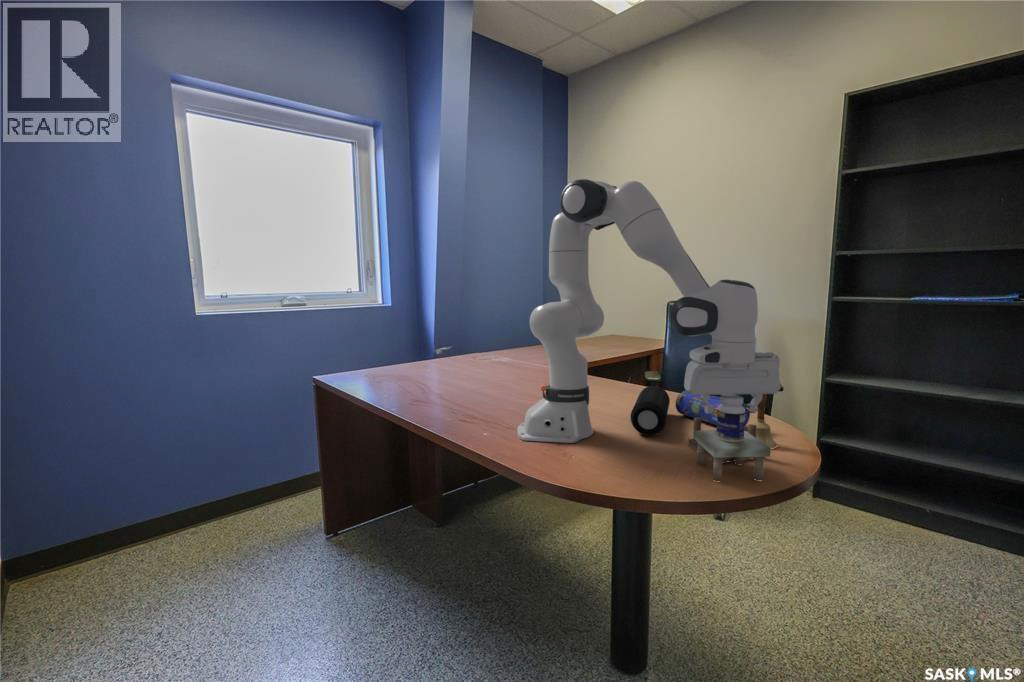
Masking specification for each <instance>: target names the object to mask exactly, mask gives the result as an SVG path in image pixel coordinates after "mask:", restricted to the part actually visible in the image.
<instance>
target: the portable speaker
mask: <svg viewBox="0 0 1024 682" xmlns="http://www.w3.org/2000/svg"><path fill="white" fill-rule="evenodd" d="M638 394H639V395H638V396H637V398H636V401H635V404H634V405H633V407H632V410H631V411H630V422H631V423H630V424H632V427H633V428H634V430H635V431H637V432H638V433H639V434H642V435H644V436H656V435H658V434H659V433H661V432H662V431H663V430H664V428H665V427H666V423H667V418H668V411H669V407H670V403H671V400H670V396H669V394H668V392H667V391H666V390H665V389H663V388H662V387H661V386H657V385H650V386H646V387H644V388H643V389H642V390H640V393H638Z"/></svg>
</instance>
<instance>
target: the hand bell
mask: <svg viewBox="0 0 1024 682" xmlns="http://www.w3.org/2000/svg"><path fill="white" fill-rule="evenodd" d="M767 400H768V394H763V396H762V400H761V401H760V403H759V404H758V405H757V408H756V409H757V417H756V418H757V420H756V421H755V422H752V423H751V424H752V425H756V438H757V439H758V440H760V441H761V442H763V443H764V444H766V445H767V446H769V447H770V448H774V447H776V446H777V445H778V443H777V442H776V441H775V440H774V438H773V436H772V431H771V426H770V425H769V424H768V423H767V422H766V421H765V408H766V405H767V402H768V401H767Z"/></svg>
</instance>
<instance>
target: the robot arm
mask: <svg viewBox="0 0 1024 682" xmlns="http://www.w3.org/2000/svg"><path fill="white" fill-rule="evenodd" d="M559 203H560V204H559V205H560V210H561V212H560V213H558V214H556V215H555V216H554V217H553V220H552V222H551V227H550V234H549V246H548V278H549V280H550V282H551V284H552V285H553V286H555V287H556V289H557V290H558V293H559V296H560V301H551V302H547V303H545V304H542V305H541V304H540V305H539V306H537V307H535V308H534V309H533V310H532V311H531V314H530V316H529V328H530V331H531V333H532V334H533V336H534V337H535V338H536V339H538V340H539V342H540V343H541V344H542V345H543V348H544V350H545V352H546V356H547V361H548V373H549V377H548V378H549V384H548V385H546V384H542V385H541V386H540V390H541V391H542V398H541V399H539V400H538V401H537V402H536V403H535V404H533V405H532V406H530V407H529V408H527V409H528V410H526V413H525V417H524V422H522V423H520V424H519V425H518V426H517V431H516V433H517V437H518V438H519V439H520V440H522V441H531V442H545V443H546V442H549V443H550V442H551V443H565V444H568V443H569V444H574V443H577V442H579V441H580V440H583V439H587V438H589V437H591V436H592V435H593V433H594V430H593V426H592V423H591V417H590V410H589V404H590V386H589V385H588V360H587V358H586V356H585V355H583V354H582V353H580V351H579V348H578V346H577V342H576V339H577V338H582V337H583V338H584V337H588V336H591V335H593V334H595V333H596V332H598V331H600V329H601V328H602V327H603V325H604V322H605V321H604V320H605V315H604V311H603V309H602V307H601V305H600V304H598V303H597V301H596V299H595V297H594V294H593V292H592V289H591V285H590V277H589V275H590V274H589V245H590V243H589V238H590V235H591V232H592V231H593V230H596V231H600V230H602V229H604V228H607V227H609V226H612V225H614V224H615V225H616V227H617V229H618V231H619V232H620V234H621V236H622V238H623V240H624V241H625V243H626V245H627V246H628V248H629V249H630V250H631V251H632V252H633V253H634V254H635V255H636V256H637V257H638V258H640V259H643V260H645V261H647V262H649V263H652V264H653V265H656V266H658V267H660V268H661V269H662V270H664V271H665V272H666V274H668V276H669V277H670V278H671V279H672V281H673V283H674V284H675V286H676V287H677V289H678V291H679V292H680V293H681V295H682V296H683V297H680V298H678V299H677V300H675V302H673V304H672V306H671V307H670V310H669V318H668V319H669V323H670V325H671V327H672V328H673V329H674V331H675V332H677V333H678V334H680V335H682V336H687V337H697V336H702V335H710V336H711V337H712V338H711V343H709V344H706V345H702V346H700V347H696V348H692V349H691V350H690V351H689V357H690V359H691V360H690V361H689V362H688V363H687V365H686V367H685V373H684V381H683V387H684V389H685V390H684V391H687V392H688V393H690V394H691V395H700V398H701V400H702V401H703V403H704V404H705V413H707V414H711V413H714V406H712V405H711V404H709V402H708V400H707V399H710V396H716V395H718V396H719V395H720V396H721V395H726V394H733V395H751V397H752V399H751V401H750V402H749V403H745V404H746V407H747V408H746V411H747V412H748V413H750V414H756V413H757V409H758V408H757V405H758V404H759V403H760V401H761V400H762V396H763V394H767V395H776V394H778V392H779V391H780V389H781V379H780V377H781V376H780V365H781V364H780V363H781V359H780V357H779V356H778V355H777V354H775V353H774V352H772V351H771V352H770V351H768V352H756V351H757V350H756V349H757V348H756V347H757V337H756V334H755V333H756V332H755V329H756V326H757V323H758V312H759V311H758V307H759V306H758V294H757V289H756V288H755V287H754V286H753V284H752V283H749V282H745V281H741V280H735V279H720V280H718V281H717V282H716V283H715V284H713V285H712V286H710V285H709V284H708V283H707V281H706V279H705V278H704V277H703V275H702V273H701V272H700V271H699V269H698V268H697V266H696V264H695V262H694V261H693V260H692V259H691V257H690V256H689V254H688V253H687V252H686V250H685V248H684V246H683V245H682V242H681V241H680V240H679V237H678V236H677V234H676V232H675V230H674V228H673V226H672V225H671V222H670V221H669V219H668V217H667V216H666V214H665V212H664V210H663V209H662V207H661V205H660V204H659V202H658V201H657V200H656V198H655V196H654V195H653V194H652V193H651V192H650V190H649V189H648V188H647V187H645V185H644V184H643V183H641V182H639V181H635V180H631V181H627V182H624V183H622V184H620V185H619V186H615V185H611V184H610V183H606V182H604V181H599V180H597V181H595V180H590V179H587V178H586V179H585V178H581V179H575V180H572V181H571V182H569V183H568V184H566V186H565V187H564V188H563V190H562V192H561V195H560V199H559Z"/></svg>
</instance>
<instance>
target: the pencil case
mask: <svg viewBox="0 0 1024 682" xmlns="http://www.w3.org/2000/svg"><path fill="white" fill-rule="evenodd" d="M720 397H721V396H716V395H710V399H707V400H708V402H709V404H711V405H712V406H714V413H711V414H707V413H705V404H704V403H703V401H702V400H701V398H700V395H691V394H690V393H688V392H687V391H686V390H683V391H681V393H678V395H677V397H676V399H675V409H676V411H677V412H678V413H679V414H680V415H683V416H685V417H686V416H687V417H690V418H692V419H694V418H696V417H697V418H701V422H704V423H708V424H711V425H715V426H717V410H718V406H719V405H720V404H721V401H720ZM746 404H747V403H744V402H743V404H742V406H743V407H744V408H745V427H746V426H747V425H748V422H749V420H750V417H751V416H750V415H751V413H748V412H747V411H746V408H747V407H746Z"/></svg>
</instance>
